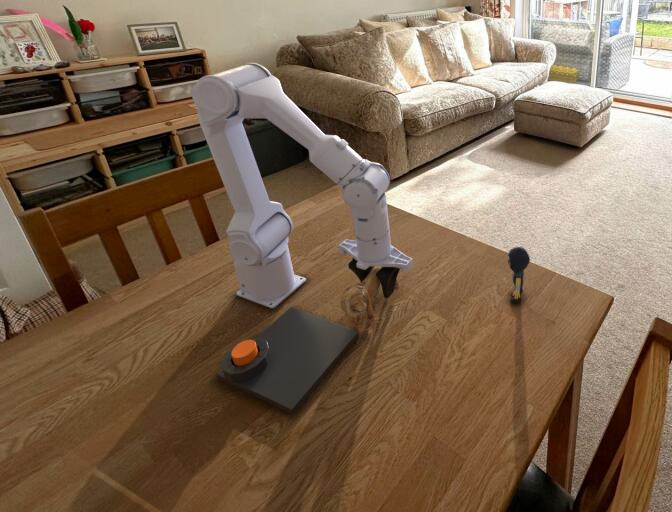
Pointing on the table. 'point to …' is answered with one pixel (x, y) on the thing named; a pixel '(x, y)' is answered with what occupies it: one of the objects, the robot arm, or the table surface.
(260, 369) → the scale
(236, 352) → the button
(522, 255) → the character figure
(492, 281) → the table surface
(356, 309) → the lion figurine
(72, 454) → the table surface
